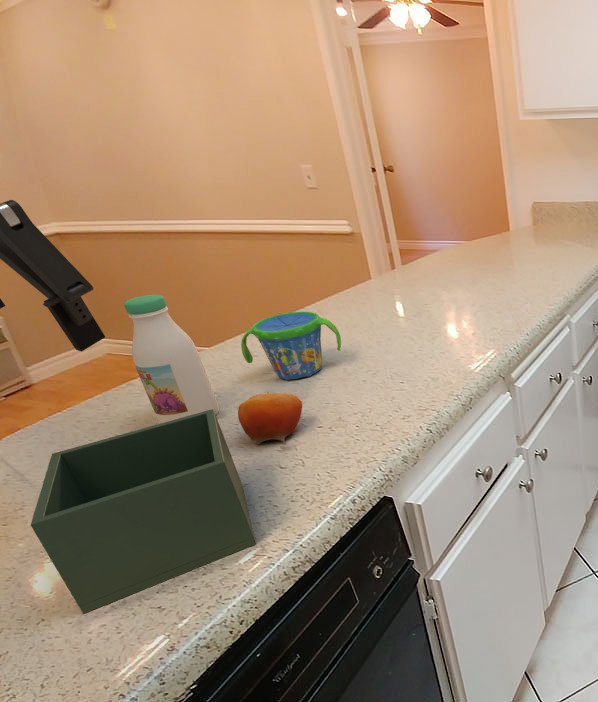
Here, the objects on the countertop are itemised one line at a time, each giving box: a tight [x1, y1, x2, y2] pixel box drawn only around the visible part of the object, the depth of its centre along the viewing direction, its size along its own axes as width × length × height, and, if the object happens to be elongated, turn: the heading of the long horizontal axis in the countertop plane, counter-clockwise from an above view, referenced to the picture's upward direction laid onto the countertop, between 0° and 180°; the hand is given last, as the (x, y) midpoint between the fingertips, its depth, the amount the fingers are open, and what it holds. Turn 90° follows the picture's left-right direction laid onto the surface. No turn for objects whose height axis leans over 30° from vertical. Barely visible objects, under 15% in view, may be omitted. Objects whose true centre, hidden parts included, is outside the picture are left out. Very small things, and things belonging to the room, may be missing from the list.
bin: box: [30, 409, 257, 614], centre depth 61 cm, size 15×15×11 cm
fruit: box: [237, 392, 303, 446], centre depth 82 cm, size 8×8×8 cm
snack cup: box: [240, 311, 342, 381], centre depth 101 cm, size 16×10×10 cm
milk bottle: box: [123, 294, 220, 424], centre depth 85 cm, size 8×8×20 cm
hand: (40, 327), depth 62 cm, fingers open, 13 cm apart
